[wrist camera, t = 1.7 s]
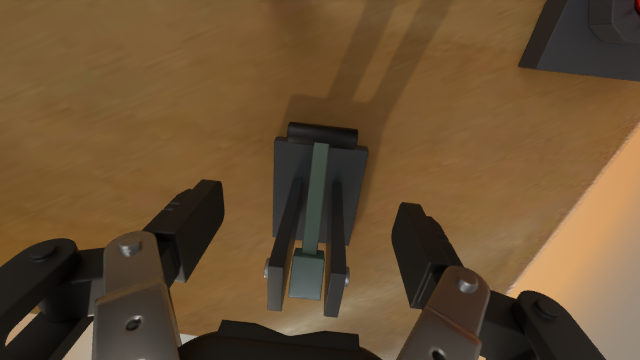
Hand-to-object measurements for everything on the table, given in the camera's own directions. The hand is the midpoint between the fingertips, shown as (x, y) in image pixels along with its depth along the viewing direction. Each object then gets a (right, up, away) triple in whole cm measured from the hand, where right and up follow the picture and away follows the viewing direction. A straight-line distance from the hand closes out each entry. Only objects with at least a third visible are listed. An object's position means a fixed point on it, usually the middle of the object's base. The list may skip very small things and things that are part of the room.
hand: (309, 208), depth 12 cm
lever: (0, -1, +8) cm, 8 cm away
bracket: (0, 0, +17) cm, 17 cm away
